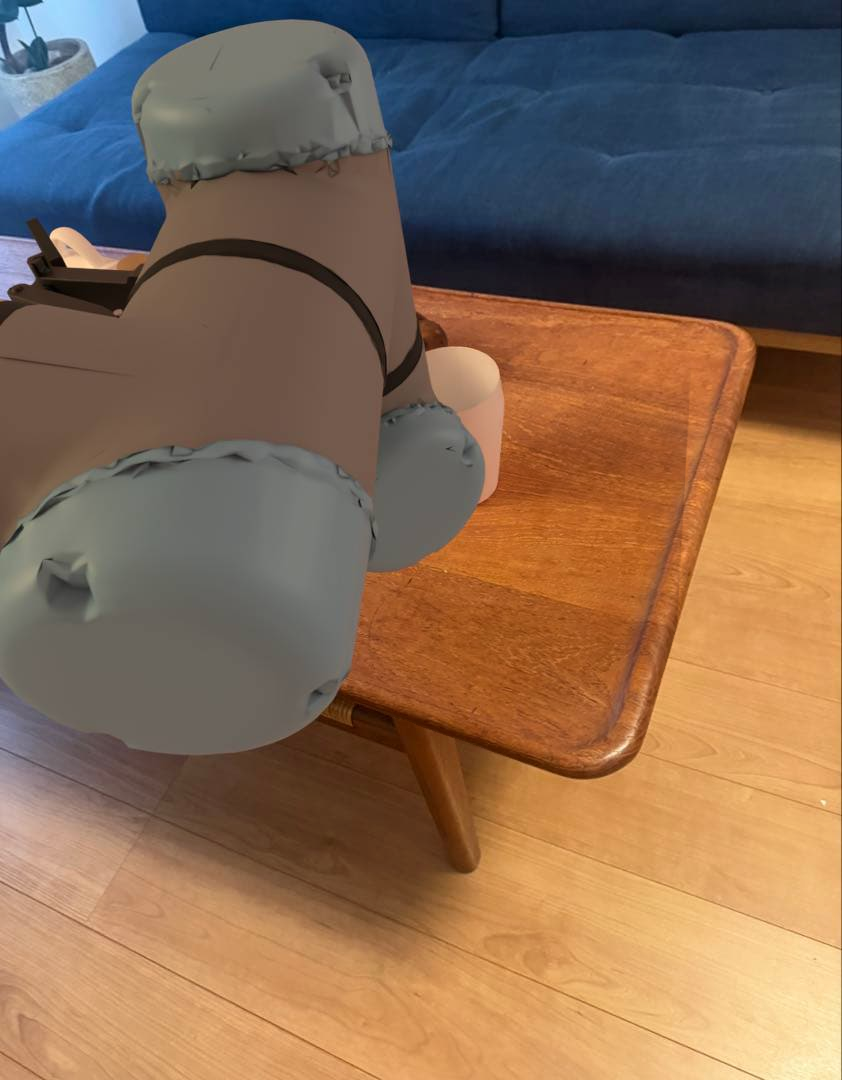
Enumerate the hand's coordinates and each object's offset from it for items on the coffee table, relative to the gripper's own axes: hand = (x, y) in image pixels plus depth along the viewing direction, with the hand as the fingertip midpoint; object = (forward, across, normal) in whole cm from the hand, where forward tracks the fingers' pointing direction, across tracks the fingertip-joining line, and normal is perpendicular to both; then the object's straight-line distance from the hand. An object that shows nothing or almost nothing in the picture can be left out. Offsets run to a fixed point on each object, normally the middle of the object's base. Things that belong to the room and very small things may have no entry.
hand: (138, 199), depth 55 cm
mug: (+43, -3, -30) cm, 53 cm away
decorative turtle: (+8, +19, -30) cm, 37 cm away
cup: (-10, +16, -30) cm, 35 cm away
